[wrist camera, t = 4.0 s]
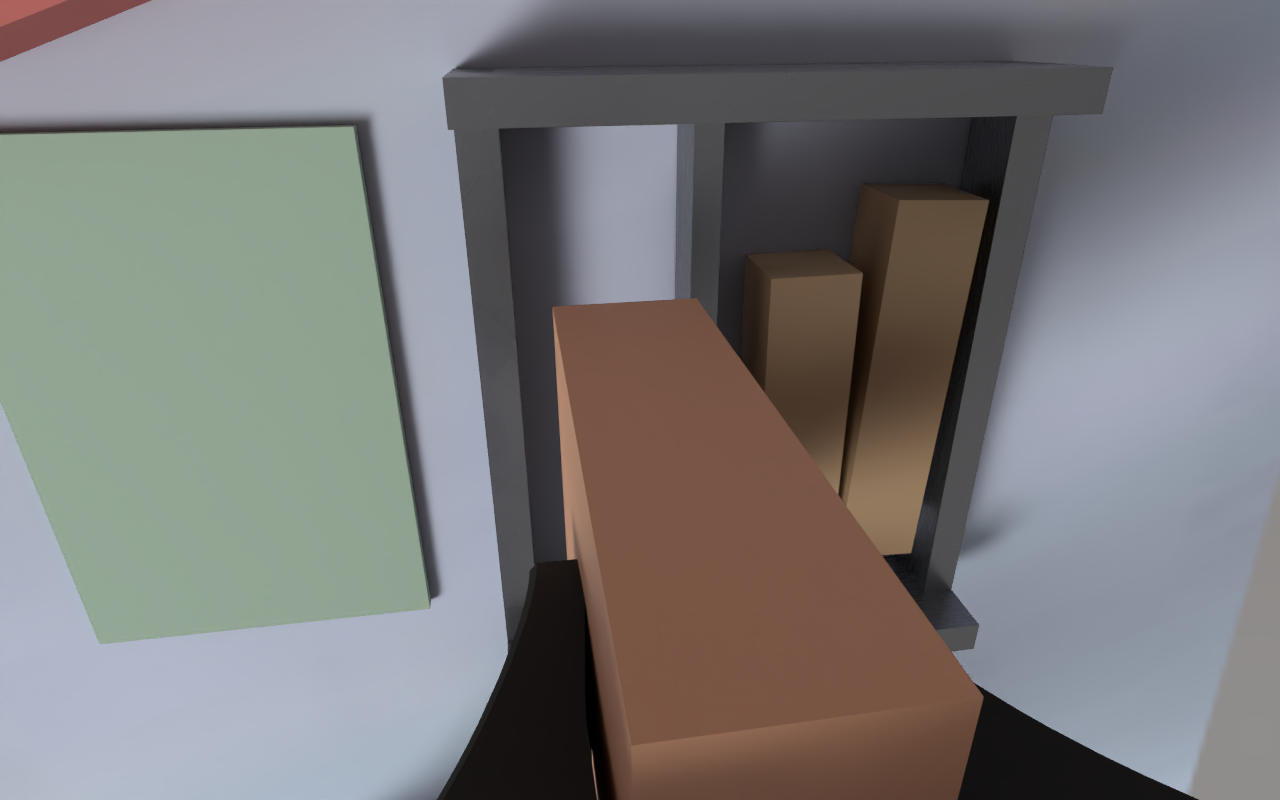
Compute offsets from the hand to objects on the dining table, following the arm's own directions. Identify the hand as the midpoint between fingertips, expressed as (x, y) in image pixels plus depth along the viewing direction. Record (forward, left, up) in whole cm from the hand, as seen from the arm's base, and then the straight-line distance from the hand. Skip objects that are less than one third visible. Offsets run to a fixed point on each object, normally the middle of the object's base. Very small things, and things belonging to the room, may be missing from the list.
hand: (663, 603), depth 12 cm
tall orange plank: (0, 0, -4) cm, 4 cm away
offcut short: (0, -4, -8) cm, 9 cm away
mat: (0, +9, -8) cm, 12 cm away
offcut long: (0, -7, -8) cm, 11 cm away
